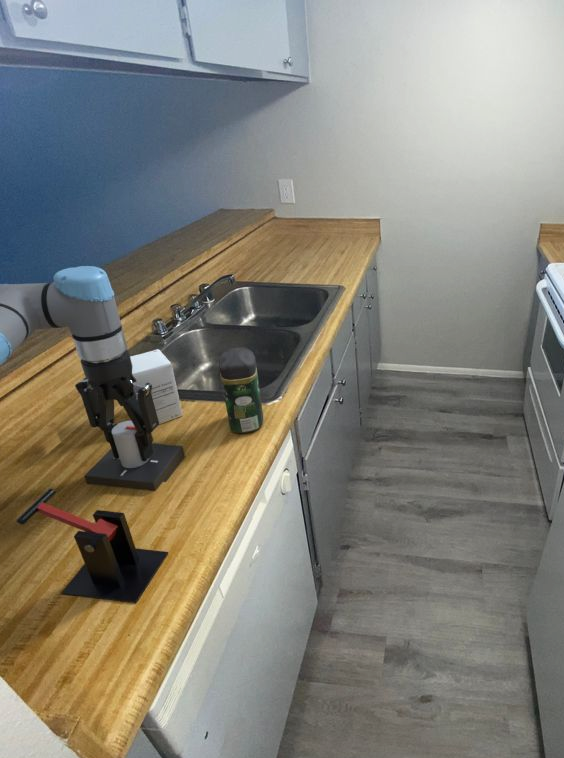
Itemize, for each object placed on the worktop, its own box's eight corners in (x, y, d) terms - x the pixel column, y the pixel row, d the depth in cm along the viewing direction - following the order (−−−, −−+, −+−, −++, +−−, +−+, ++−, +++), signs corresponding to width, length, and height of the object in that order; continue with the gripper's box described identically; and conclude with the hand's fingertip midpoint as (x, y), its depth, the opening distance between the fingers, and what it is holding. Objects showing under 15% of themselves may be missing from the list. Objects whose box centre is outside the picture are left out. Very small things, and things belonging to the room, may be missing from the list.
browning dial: (116, 467, 93) (105, 433, 89) (131, 450, 98) (121, 418, 94) (140, 469, 93) (130, 435, 89) (154, 452, 97) (145, 420, 93)
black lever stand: (62, 598, 72) (37, 544, 67) (102, 549, 80) (82, 497, 74) (137, 607, 71) (118, 553, 66) (169, 556, 79) (155, 505, 74)
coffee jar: (228, 413, 115) (217, 346, 107) (262, 408, 118) (254, 342, 109) (228, 437, 107) (216, 367, 99) (264, 431, 110) (256, 362, 101)
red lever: (15, 525, 67) (17, 515, 66) (47, 494, 73) (49, 484, 72) (96, 557, 69) (99, 548, 68) (122, 525, 74) (125, 516, 73)
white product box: (132, 412, 114) (117, 358, 107) (171, 399, 120) (159, 347, 113) (143, 430, 108) (128, 375, 101) (184, 416, 114) (172, 362, 107)
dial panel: (88, 487, 92) (83, 475, 91) (123, 450, 102) (119, 439, 101) (156, 494, 91) (153, 482, 90) (185, 456, 101) (182, 445, 100)
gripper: (164, 348, 87) (186, 447, 97) (71, 340, 88) (104, 439, 99) (140, 368, 80) (167, 472, 91) (40, 359, 81) (78, 463, 92)
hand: (134, 455), depth 95 cm, fingers closed on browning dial, 5 cm apart
